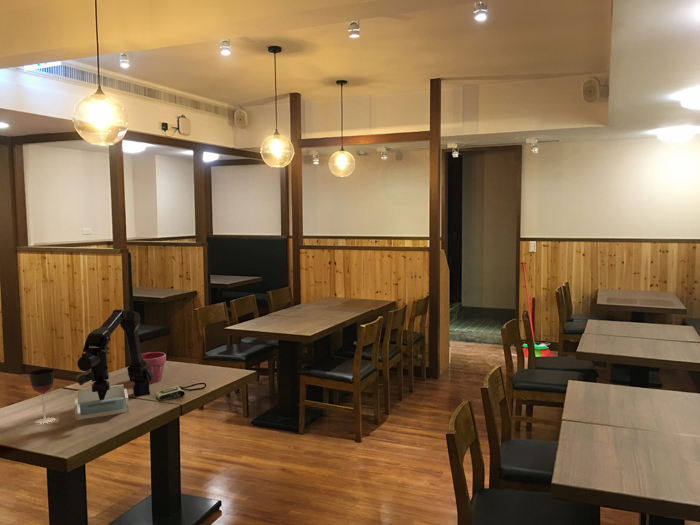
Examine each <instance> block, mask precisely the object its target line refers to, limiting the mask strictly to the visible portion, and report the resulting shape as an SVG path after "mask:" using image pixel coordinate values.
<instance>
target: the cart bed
mask: <svg viewBox="0 0 700 525" xmlns="http://www.w3.org/2000/svg"><path fill="white" fill-rule="evenodd" d="M109 386H110V390H107V393H106V395H105V398H104V399H111V398H118V397H124V409H120V410H114V411H107V412H100V413H94V414H87V415H81V414H80V403H83V402H90V401H97V400H100V399H99V396H98V393H97V392H92V388H87V389H80V390H77V394H76V395H74V404H73V405H74V419H75V421H78V420H85V418H86V419H90V418H91V419H92V418H98V416H99V417H104V416H110V415H117V414H123V413H124V412H125V413H129V412H130V406H129V405H130V404H129V403H130V402H129V395H128V390H127V388H125V387H124V386H125V385H124V384H117V385H109Z"/></svg>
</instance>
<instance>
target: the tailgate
mask: <svg viewBox="0 0 700 525" xmlns="http://www.w3.org/2000/svg"><path fill="white" fill-rule="evenodd" d="M120 409H124V397H118V398H111V399H104V400H97V401H90V402H83V403H80V414H81V415H87V414H94V413H100V412H107V411H114V410H120Z"/></svg>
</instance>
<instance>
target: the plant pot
mask: <svg viewBox="0 0 700 525" xmlns="http://www.w3.org/2000/svg"><path fill="white" fill-rule="evenodd" d="M142 358H143V360H144V361H145V362H146V363H147V365H148V369H149V370H150V371H151V373H152V374H153V378H152V381H149V384H154V383H155V384H156V383H159V382H161V381H162V379H163V373H164V368H165V363H166V362H167V355H166V353H165V352H161V351H155V352H154V351H149V352H144V353H142Z"/></svg>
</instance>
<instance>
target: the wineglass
mask: <svg viewBox="0 0 700 525" xmlns="http://www.w3.org/2000/svg"><path fill="white" fill-rule="evenodd" d="M28 375H29V380H30V381H29V382H30V385H31V389H32V390H33V391H34V392H36V393H40V394H41V397H42V398H41V400H42V410H43V411H42V413H43V419H42V418H39V419H40V420H39V419H37V420H38V421H37V420H36V421H37V423H40V424H39V425H45V424H44V423H47V424H49V423H48V422H51V423H53V422H55V421H56V418H55V417H51V418H50V417H46V400H45V393H47V392H48V391H50V390H51V389H52V388H53V385H54V381H55V370H54V369H52V368H42V369H36V370H33V371H30V372H29V373H28ZM53 420H54V421H53ZM52 421H53V422H52ZM42 423H43V424H42Z"/></svg>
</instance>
